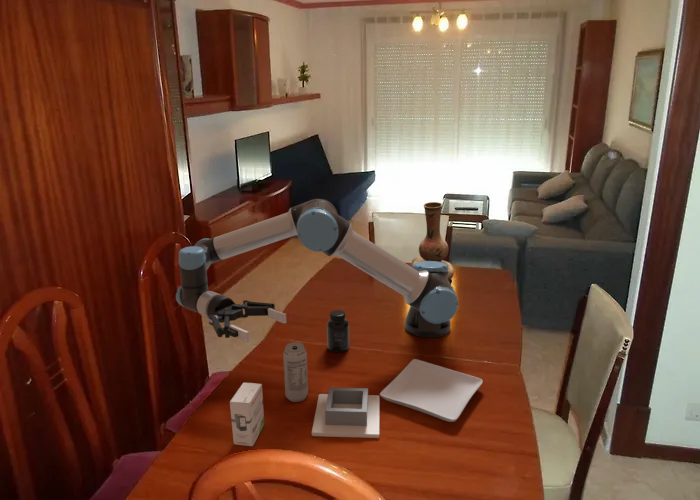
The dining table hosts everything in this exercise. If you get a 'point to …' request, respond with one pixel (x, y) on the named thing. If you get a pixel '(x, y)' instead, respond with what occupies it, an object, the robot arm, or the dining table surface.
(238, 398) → the ink box
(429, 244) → the vase
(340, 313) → the supplement bottle
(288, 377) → the energy drink can
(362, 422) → the socket board
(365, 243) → the robot arm
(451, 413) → the salad plate
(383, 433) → the dining table surface
